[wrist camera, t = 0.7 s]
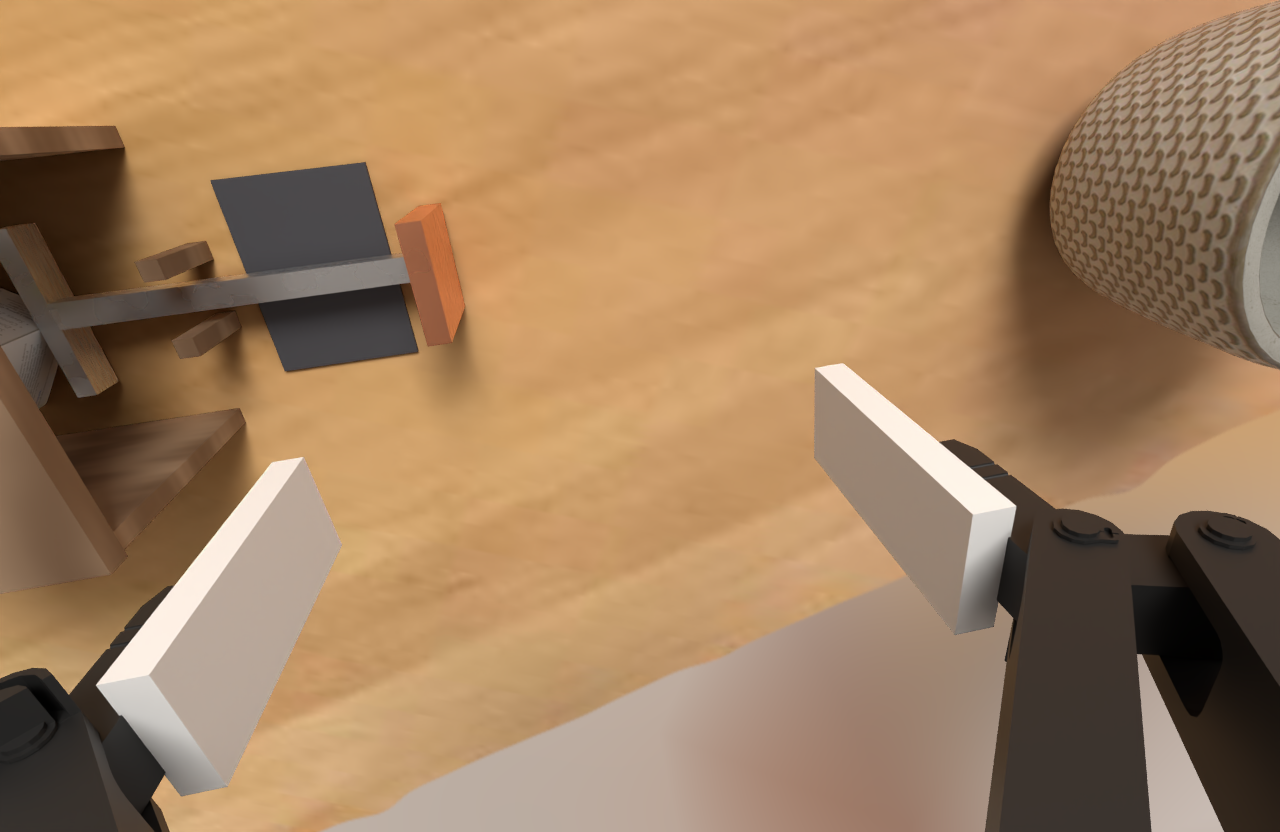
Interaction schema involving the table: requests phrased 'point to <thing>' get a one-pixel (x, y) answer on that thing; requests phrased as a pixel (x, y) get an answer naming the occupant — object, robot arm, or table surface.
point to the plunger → (225, 292)
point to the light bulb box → (26, 347)
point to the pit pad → (317, 261)
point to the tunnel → (95, 435)
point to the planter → (1184, 186)
